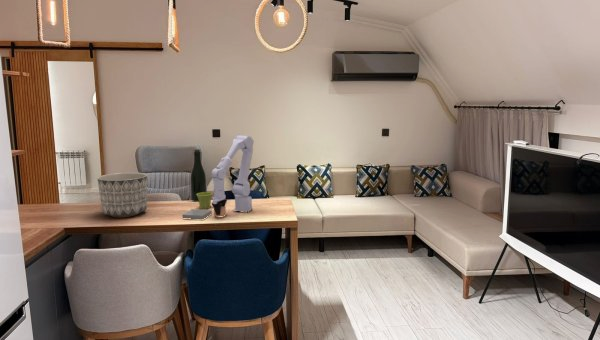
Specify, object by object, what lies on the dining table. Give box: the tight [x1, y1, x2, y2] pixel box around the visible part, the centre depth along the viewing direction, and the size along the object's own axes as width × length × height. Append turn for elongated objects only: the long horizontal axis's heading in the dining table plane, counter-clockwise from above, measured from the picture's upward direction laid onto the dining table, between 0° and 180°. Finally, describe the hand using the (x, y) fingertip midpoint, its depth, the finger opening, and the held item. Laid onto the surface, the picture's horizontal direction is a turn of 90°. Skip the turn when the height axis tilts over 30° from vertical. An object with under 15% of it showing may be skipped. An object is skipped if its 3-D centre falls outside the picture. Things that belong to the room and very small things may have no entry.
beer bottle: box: [189, 148, 208, 202], centre depth 283 cm, size 10×10×33 cm
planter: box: [97, 172, 148, 218], centre depth 249 cm, size 26×26×22 cm
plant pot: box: [196, 191, 213, 210], centre depth 265 cm, size 9×9×9 cm
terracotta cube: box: [213, 206, 227, 217], centre depth 246 cm, size 5×5×5 cm
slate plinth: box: [182, 208, 213, 220], centre depth 245 cm, size 12×12×3 cm
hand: (219, 213), depth 246 cm, fingers closed on terracotta cube, 5 cm apart
